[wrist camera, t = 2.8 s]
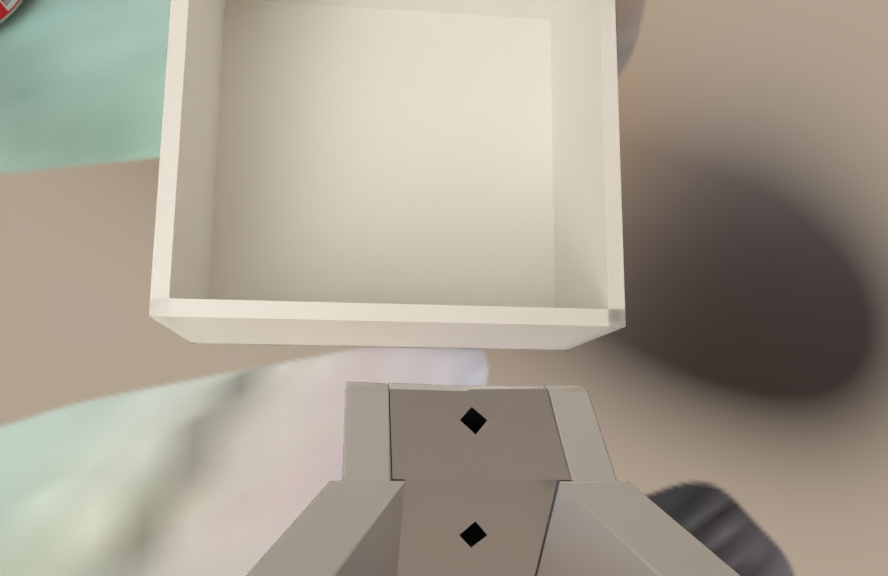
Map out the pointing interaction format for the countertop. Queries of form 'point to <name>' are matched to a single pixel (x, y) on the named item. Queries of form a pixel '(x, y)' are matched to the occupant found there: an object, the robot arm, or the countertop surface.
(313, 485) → the countertop surface
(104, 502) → the countertop surface
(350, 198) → the box
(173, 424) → the countertop surface
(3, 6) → the soda can
